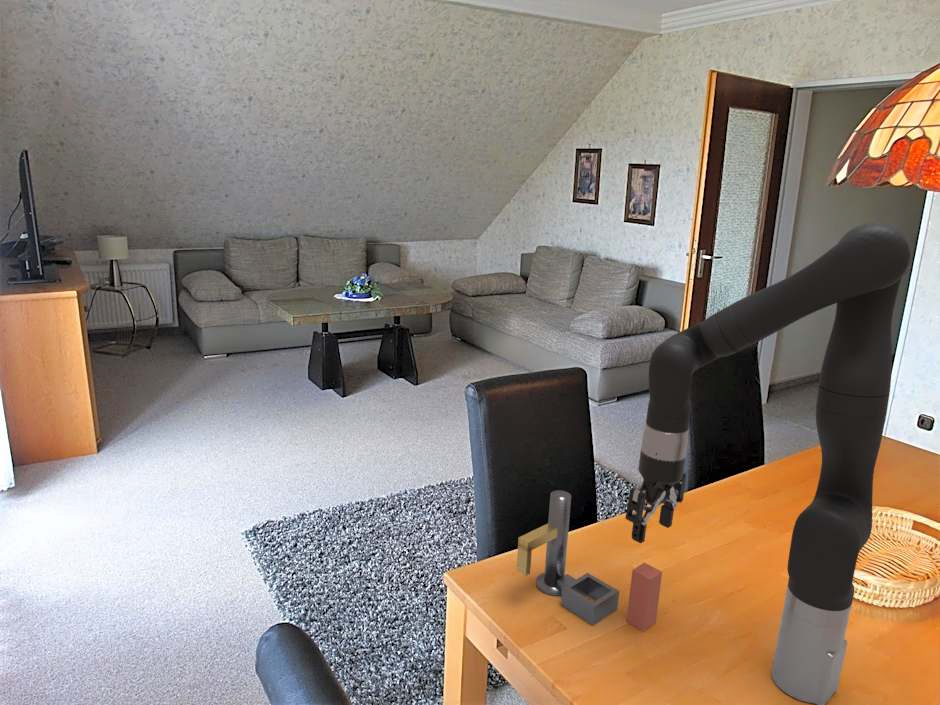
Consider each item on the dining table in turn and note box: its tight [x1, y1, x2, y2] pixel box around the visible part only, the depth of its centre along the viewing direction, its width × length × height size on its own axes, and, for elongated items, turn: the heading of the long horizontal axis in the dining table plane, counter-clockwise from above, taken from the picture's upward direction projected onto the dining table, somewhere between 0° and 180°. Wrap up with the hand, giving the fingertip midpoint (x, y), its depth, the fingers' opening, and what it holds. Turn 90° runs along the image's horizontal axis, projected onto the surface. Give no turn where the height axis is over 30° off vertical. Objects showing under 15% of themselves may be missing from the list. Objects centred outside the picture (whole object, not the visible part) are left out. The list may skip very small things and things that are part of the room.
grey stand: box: [516, 489, 620, 626], centre depth 127 cm, size 16×14×20 cm
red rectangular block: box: [626, 562, 663, 633], centre depth 124 cm, size 4×4×11 cm
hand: (651, 533), depth 121 cm, fingers open, 8 cm apart
